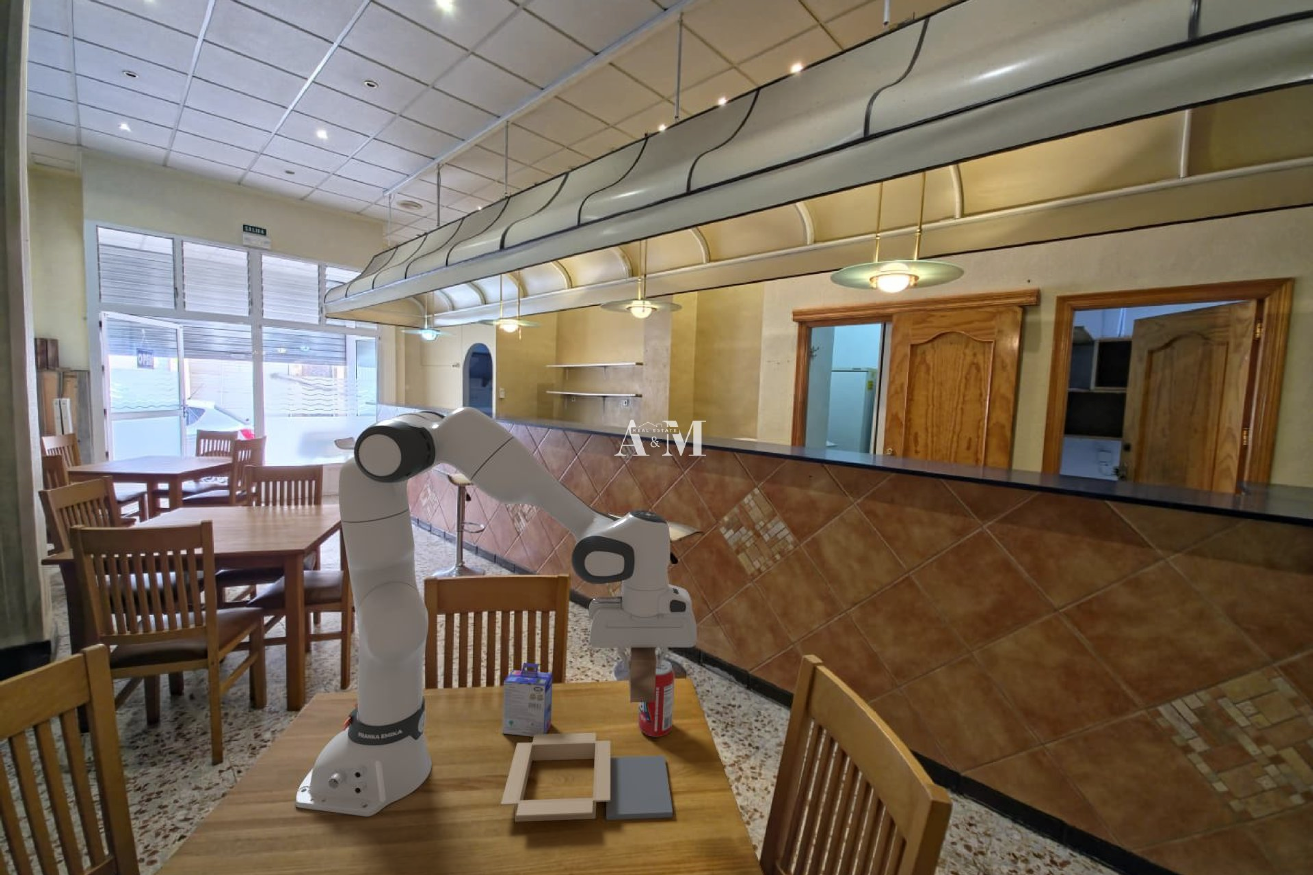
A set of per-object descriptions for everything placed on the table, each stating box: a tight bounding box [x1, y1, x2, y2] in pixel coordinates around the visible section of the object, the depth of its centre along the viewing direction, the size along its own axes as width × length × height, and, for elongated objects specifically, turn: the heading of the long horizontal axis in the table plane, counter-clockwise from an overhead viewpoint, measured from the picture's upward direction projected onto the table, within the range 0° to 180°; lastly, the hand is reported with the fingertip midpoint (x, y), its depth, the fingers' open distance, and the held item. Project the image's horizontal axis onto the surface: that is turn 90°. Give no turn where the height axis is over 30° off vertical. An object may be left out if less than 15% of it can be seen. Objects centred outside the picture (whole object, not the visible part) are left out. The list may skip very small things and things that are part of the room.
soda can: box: [638, 659, 676, 738], centre depth 112 cm, size 8×8×15 cm
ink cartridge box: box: [501, 662, 553, 738], centre depth 110 cm, size 10×6×14 cm, turn 84°
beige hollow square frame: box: [500, 732, 611, 823], centre depth 95 cm, size 19×20×4 cm
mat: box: [605, 755, 674, 821], centre depth 95 cm, size 12×14×1 cm
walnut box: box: [628, 647, 657, 703], centre depth 93 cm, size 4×9×8 cm, turn 5°
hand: (641, 666), depth 93 cm, fingers closed on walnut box, 4 cm apart
